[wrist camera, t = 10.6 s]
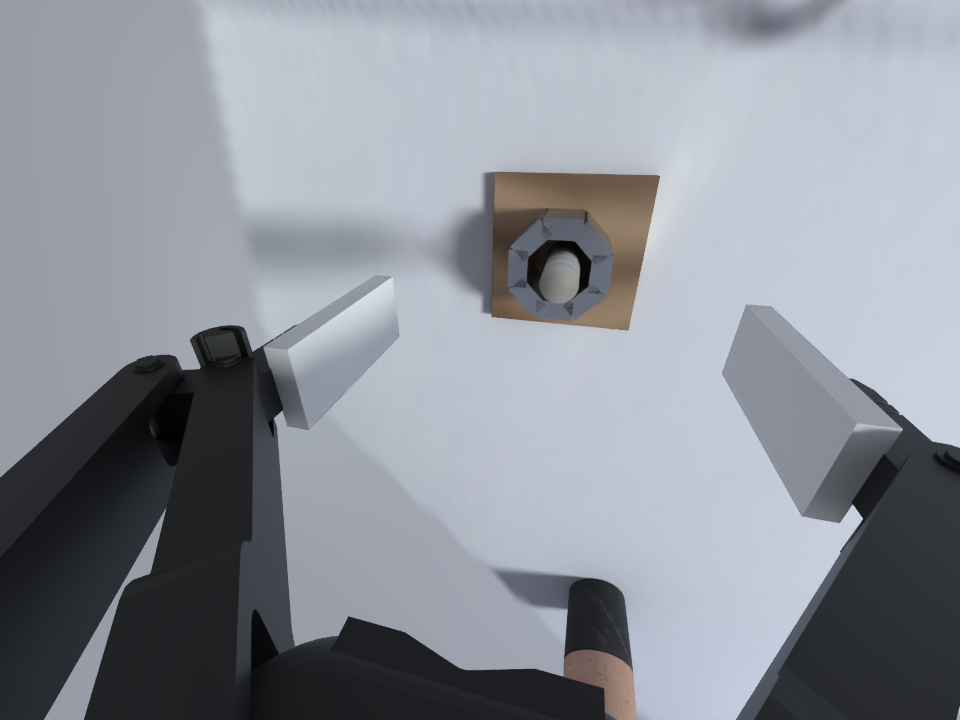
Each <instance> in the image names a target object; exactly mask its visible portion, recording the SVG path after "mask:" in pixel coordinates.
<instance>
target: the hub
mask: <svg viewBox="0 0 960 720" xmlns="http://www.w3.org/2000/svg"><path fill="white" fill-rule="evenodd" d="M547 240H564V241H575V242H576V243H577V244H578V245H579V246H580V248H581V249H582V250H583V251H584V252H585V254H586V255H587V256H588V257H589V258H590V259H589V266H588V269H587V270H586V271H584V272H583V273H582V274H580V276H579V288H578V291H577V293H576V295H575V296H574V297H573V298H572V299H571V300H570V301H568V302H565V303H560V304H558V303H552V302H550V301H548V300H547V299H545V298H544V297H543V295H542V294H541V291H540V287H539V283H540V278H541V276H542V273H541V272H540V271H539V270H538V268H537V267H536V266H535V265H534V262H535V251H536V250H537V249H538V248H539V247H540V246H541V245H542V244H544V243H545V242H546V241H547ZM510 247H511V248H510V249H509V257H508V281H507V287H510V288H509V291H510V292H511V293H512V294H513V295H514V296H515V298H516V299H517V300H518V301H519V302H520V303H521V304H522V305H523V306H524V307H525V309H526V310H527V311H528V312H529V313H530V314H531V315H532V316H533V315H534V314H535V313H536V315H535V318H545V319H555V320H566V321H572V317H573V318H574V320H576V319H577V318H579V317H580V316H581V315H583V314H584V313H585V312H587V311H588V310H590V309H591V308H592V307H594V306H595V305H597V304H598V303H599V302H601V301H602V300H603V299H605V298H606V296H605V294H606V295H608V290H609V285H610V279H611V273H612V267H613V261H614V253H613V249H612V245H611V241H610V238H609V236H608V235H607V234H606V233H605V231H604V230H603V229H602V228H601V226H600V225H599V224H598V223H597V221H596V220H595V219H594V218H593V217H592V215H591V214H590V213H589V212H588V211H587V212H586V213H585V209H562V208H549V210H548V211H547V210H545V211H544V212H543V213H542V214H541V215H540V216H538V217H537V218H536V219H535V220H534V221H533V222H532V223H531V224H530V225H529V226H528V227H527V228H526V229H525V230H523V231H522V232H521V233H520V235H519V236H518V237H517V238H516V240H515V241H514V242H513V244H512V245H511V246H510Z"/></svg>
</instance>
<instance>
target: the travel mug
mask: <svg viewBox="0 0 960 720" xmlns="http://www.w3.org/2000/svg"><path fill="white" fill-rule="evenodd" d="M563 677H566V678H569V679H573V680H577V681H580V682H584V683H587V684H591V685H594V686H598V687H601V688H604V692H605V712H606V713H607V714H609V715H610V716H612V717H614V718H615V719H617V720H637V716H636V703H635V691H634V678H633V668H632V659H631V650H630V641H629V633H628V624H627V615H626V607H625V600H624V596H623V594H622V592H621V591H620V590H619V589H618V588H617V587H615V586H614V585H612V584H610V583H608V582H605V581H602V580H597V579H584V580H580V581H577V582H576V583H574V584H573V585H572V586H571V588H570V591H569V601H568V614H567V628H566V641H565V655H564V675H563Z"/></svg>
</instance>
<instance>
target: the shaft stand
mask: <svg viewBox="0 0 960 720" xmlns="http://www.w3.org/2000/svg"><path fill="white" fill-rule="evenodd" d="M659 178H660V176H658V175H613V174H567V173H521V172H496V173H495V187H494V231H493V275H492V317H497V318H507V319H517V320H527V321H538V322H548V323H558V324H568V325H578V326H589V327H599V328H609V329H619V330H628V329H629V325H630V320H631V315H632V310H633V305H634V300H635V295H636V290H637V286H638V281H639V276H640V271H641V266H642V261H643V256H644V252H645V247H646V242H647V237H648V232H649V227H650V222H651V217H652V213H653V208H654V203H655V198H656V193H657V188H658V183H659ZM549 208H562V209H585V213H586V212H587V211H588V212H589V213H590V214H591V215H592V217H593V218H594V219H595V220H596V221H597V223H598V224H599V225H600V226H601V228H602V229H603V230H604V231H605V233H606V234H607V235H608V236H609V238H610V241H611V245H612V249H613V253H614V261H613V267H612V273H611V279H610V285H609V290H608V295H606V294H605V296H606V298H605V299H603V300H602V301H601V302H599V303H598V304H597V305H595V306H594V307H592V308H591V309H590V310H588V311H587V312H585V313H584V314H583V315H581V316H580V317H579V318H577V319H576V320H574V318H573V317H572V321H566V320H555V319H545V318H535V315H536V313H535V314H534V315H533V316H532V315H531V314H530V313H529V312H528V311H527V310H526V309H525V307H524V306H523V305H522V304H521V303H520V302H519V301H518V300H517V299H516V298H515V296H514V295H513V294H512V293H511V292H510V291H509V288H510V287H507V281H508V257H509V249H510V248H511V247H510V246H511V245H512V244H513V242H514V241H515V240H516V238H517V237H518V236H519V235H520V233H521V232H522V231H523V230H525V229H526V228H527V227H528V226H529V225H530V224H531V223H532V222H533V221H534V220H535V219H536V218H537V217H538V216H540V215H541V214H542V213H543V212H544V211H545V210H547V211H548V210H549ZM589 259H590V258H589V257H588V256H587V255H586V254H585V252H584V251H583V250H582V249H581V248H580V246H579V245H578V244H577V243H576V242H575V241H564V240H547V241H546V242H545V243H544V244H542V245H541V246H540V247H539V248H538V249H537V250H536V251H535V262H534V265H535V266H536V267H537V268H538V270H539V271H540V272H541V273H542V276H541V278H540V283H539V287H540V291H541V294H542V295H543V297H544V298H545V299H547V300H548V301H550V302H552V303H558V304H560V303H565V302H568V301H570V300H571V299H572V298H573V297H574V296H575V295H576V293H577V291H578V288H579V276H580V274H582V273H583V272H584V271H586V270H587V269H588V266H589Z"/></svg>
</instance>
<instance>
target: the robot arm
mask: <svg viewBox="0 0 960 720" xmlns="http://www.w3.org/2000/svg"><path fill="white" fill-rule="evenodd" d="M398 338H399V329H398V320H397V312H396V303H395V294H394V285H393V277H390V276H377V275H375V276H374V277H372V278H371V279H369V280H368V281H366V282H364V283H363V284H361V285H360V286H358V287H357V288H355V289H353V290H352V291H350V292H349V293H347V294H345V295H344V296H342V297H341V298H339V299H338V300H336V301H334V302H333V303H331V304H330V305H328V306H327V307H325V308H323V309H322V310H320V311H319V312H317V313H316V314H314V315H312V316H311V317H309V318H308V319H306V320H305V321H303V322H301V323H300V324H298V325H295V326H293V327H291V328H290V329H288V330H287V331H285V332H284V334H280V335H279V336H277V337H276V338H275V339H272V340H271V341H269V342H268V343H266V344H264V345H263V346H261V347H260V348H258V349H256V350H255V351H253V352H252V349H251V346H250V343H249V340H248V337H247V334H246V331H245V329H244V328H243V327H240V326H233V325H229V326H219V327H215V328H210V329H207V330H205V331H202V332H199V333H198V334H196V335H195V336H193V337H192V338H191V339H190V342H191V344H192V346H193V349H194V351H195V354H196V356H197V359H198V361H199V364H200V366H201V368H200V369H196V370H182V369H181V366H180V364H179V362H178V359H177V358H176V357H175V356H171V355H157V356H152V355H151V356H146V357H145V358H144V357H143V358H140V359H138V360H137V361H135V362H133V363H130V364H128V365H127V366H125V367H124V368H122V369H121V370H120V371H119V372H118V373H116V374H115V375H114V376H113V377H112V378H111V379H110V380H109V381H108V382H107V383H105V384H104V385H103V386H102V387H101V388H100V389H99V390H97V392H95V393H94V394H93V395H92V396H91V397H90V398H89V399H87V401H85V402H84V403H83V404H82V405H81V406H80V407H79V408H78V409H76V410H75V411H74V412H73V413H72V414H71V415H70V416H68V417H67V418H66V419H65V420H64V421H63V422H62V423H61V424H60V425H58V426H57V427H56V428H55V429H54V430H53V431H52V432H51V433H50V434H48V436H46V437H45V438H44V439H43V440H42V441H41V442H39V443H38V444H37V445H36V446H35V447H34V448H33V449H32V450H31V451H29V452H28V453H27V454H26V455H25V456H24V457H23V458H22V459H21V460H19V461H18V462H17V463H16V464H15V465H14V466H13V467H12V468H10V469H9V470H8V471H7V472H6V473H5V474H4V475H3V476H2V477H0V720H44V718H45V717H46V715H47V713H48V712H49V710H50V709H51V707H52V705H53V703H54V702H55V700H56V698H57V696H58V695H59V693H60V691H61V689H62V688H63V686H64V684H65V682H66V681H67V679H68V677H69V676H70V674H71V672H72V670H73V668H74V667H75V665H76V663H77V662H78V660H79V658H80V656H81V655H82V653H83V651H84V649H85V648H86V646H87V644H88V643H89V641H90V639H91V637H92V636H93V634H94V632H95V630H96V629H97V627H98V625H99V623H100V622H101V620H102V618H103V616H104V615H105V613H106V611H107V610H108V608H109V606H110V604H111V603H112V601H113V599H114V597H115V595H116V594H117V592H118V590H119V589H120V587H121V585H122V583H123V582H124V580H125V578H126V577H127V575H128V573H129V571H130V570H131V568H132V566H133V564H134V562H135V561H136V559H137V557H138V556H139V554H140V552H141V550H142V549H143V547H144V545H145V544H146V542H147V540H148V538H149V536H150V535H151V533H152V531H153V529H154V528H155V526H156V524H157V523H158V521H159V519H160V517H161V516H162V514H163V512H164V510H165V509H166V512H165V516H164V521H163V524H162V529H161V533H160V537H159V541H158V545H157V549H156V554H155V558H154V562H153V566H152V570H151V573H150V574H149V575H146V576H143V577H140V578H137V579H134V580H132V581H131V582H130V583H129V584H128V585H127V586H126V587H125V589H124V591H123V593H122V595H121V597H120V600H119V603H118V606H117V610H116V613H115V616H114V620H113V623H112V626H111V630H110V633H109V637H108V640H107V643H106V647H105V650H104V654H103V657H102V661H101V664H100V667H99V671H98V674H97V677H96V681H95V684H94V688H93V691H92V694H91V698H90V701H89V704H88V708H87V711H86V715H85V718H84V720H617V719H615V718H614V717H612V716H610V715H609V714H607V713H606V712H605V692H604V688H601V687H598V686H594V685H591V684H587V683H584V682H580V681H577V680H573V679H569V678H566V677H562V676H559V675H555V674H551V673H548V672H544V671H541V670H537V669H508V670H507V669H506V670H463V669H460V668H458V667H456V666H455V665H453V664H452V663H450V662H449V661H447V660H446V659H444V658H443V657H441V656H440V655H438V654H437V653H435V652H434V651H432V650H430V649H429V648H428V647H426V646H425V645H423V644H422V643H420V642H419V641H417V640H416V639H414V638H413V637H411V636H410V635H408V634H407V633H405V632H402V631H398V630H395V629H391V628H388V627H384V626H381V625H377V624H373V623H370V622H366V621H363V620H359V619H356V618H352V617H349V616H348V618H347V620H346V623H345V624H344V626H343V628H342V630H341V632H340V634H339V636H332V637H326V638H321V639H316V640H313V641H310V642H307V643H304V644H301V645H298V646H296V647H295V644H294V640H293V634H292V627H291V614H290V600H289V587H288V573H287V559H286V546H285V532H284V518H283V504H282V490H281V478H280V464H279V449H278V436H277V427H276V424H275V420H274V417H276V416H277V415H278V414H279V413H280V412H281V411H282V410H283V413H284V416H285V420H286V423H287V426H289V427H295V428H301V429H306V430H310V429H311V428H312V427H313V426H314V425H315V424H316V423H317V422H318V420H319V419H320V418H321V417H322V416H323V415H324V414H325V413H326V412H327V411H328V410H329V409H330V408H331V407H332V406H333V405H334V404H335V403H336V402H337V401H338V400H339V399H340V398H341V397H342V396H343V395H344V394H345V393H346V392H347V390H348V389H349V388H350V387H351V386H352V385H353V384H354V383H355V382H356V381H357V380H358V379H359V378H360V377H361V376H362V375H363V374H364V373H365V372H366V371H367V370H368V369H369V368H370V367H371V366H372V365H373V364H374V363H375V362H376V360H377V359H378V358H379V357H380V356H381V355H382V354H383V353H384V352H385V351H386V350H387V349H388V348H389V347H390V346H391V345H392V344H393V343H394V342H395V341H396V340H397V339H398ZM722 374H723V376H724V378H725V380H726V382H727V383H728V385H729V387H730V389H731V390H732V392H733V394H734V396H735V398H736V399H737V401H738V403H739V405H740V407H741V408H742V410H743V412H744V414H745V416H746V417H747V419H748V421H749V423H750V424H751V426H752V428H753V430H754V432H755V433H756V435H757V437H758V439H759V441H760V442H761V444H762V446H763V448H764V450H765V451H766V453H767V455H768V457H769V458H770V460H771V462H772V464H773V466H774V467H775V469H776V471H777V473H778V475H779V476H780V478H781V480H782V482H783V484H784V485H785V487H786V489H787V491H788V492H789V494H790V496H791V498H792V500H793V501H794V503H795V505H796V507H797V509H798V510H799V512H800V514H801V516H803V517H808V518H814V519H820V520H825V521H831V522H837V523H840V522H841V520H842V519H843V518H844V516H845V515H846V513H847V512H848V510H849V509H850V507H851V506H852V504H853V505H854V506H855V508H856V509H857V511H858V512H859V513H860V515H861V516H862V518H863V520H862V522H861V523H860V524H859V526H858V527H857V529H856V530H855V531H854V533H853V534H852V536H851V537H850V538H849V540H848V541H847V543H846V544H845V545H844V547H843V548H842V550H841V551H840V552H841V554H840V555H839V557H838V558H837V560H836V562H835V563H834V565H833V566H832V568H831V570H830V571H829V573H828V574H827V576H826V578H825V579H824V581H823V582H822V584H821V585H820V587H819V589H818V590H817V592H816V593H815V595H814V597H813V598H812V600H811V601H810V603H809V605H808V606H807V608H806V609H805V611H804V612H803V614H802V616H801V617H800V619H799V620H798V622H797V624H796V625H795V627H794V628H793V630H792V632H791V633H790V635H789V636H788V638H787V639H786V641H785V643H784V644H783V646H782V647H781V649H780V651H779V652H778V654H777V655H776V657H775V659H774V660H773V662H772V663H771V665H770V666H769V668H768V670H767V671H766V673H765V674H764V676H763V678H762V679H761V681H760V682H759V684H758V685H757V687H756V689H755V690H754V692H753V693H752V695H751V697H750V698H749V700H748V701H747V703H746V705H745V706H744V708H743V709H742V711H741V712H740V714H739V716H738V717H737V719H736V720H956V719H957V715H958V711H959V707H960V448H958V447H955V446H952V445H948V444H943V443H937V442H932V441H931V440H930V439H929V438H927V437H926V436H925V435H924V434H923V433H922V432H921V431H920V430H918V429H917V428H916V427H915V426H914V425H913V424H912V423H911V422H909V421H908V420H907V419H906V418H905V417H904V416H903V415H899V412H898V411H897V410H896V409H895V408H894V407H893V406H891V405H888V402H887V401H886V400H885V399H884V398H882V397H881V396H880V395H879V394H878V393H877V392H876V391H875V390H873V389H871V388H869V387H867V386H866V385H864V384H862V383H860V382H858V381H856V380H855V379H849V378H848V377H846V376H845V375H844V374H843V373H842V372H841V371H840V370H839V369H838V368H837V367H836V366H835V365H834V364H832V363H831V362H830V361H829V360H828V359H827V358H826V357H825V356H824V355H823V354H822V353H821V352H820V351H818V350H817V349H816V348H815V347H814V346H813V345H812V344H811V343H810V342H809V341H808V340H807V339H806V338H805V337H803V336H802V335H801V334H800V333H799V332H798V331H797V330H796V329H795V328H794V327H793V326H792V325H791V324H789V323H788V322H787V321H786V320H785V319H784V318H783V317H782V316H781V315H780V314H779V313H778V312H777V311H776V310H774V309H773V308H772V307H770V306H757V305H746V307H745V310H744V312H743V315H742V318H741V321H740V324H739V326H738V329H737V332H736V335H735V338H734V341H733V343H732V346H731V349H730V352H729V355H728V358H727V360H726V363H725V366H724V369H723V372H722ZM166 507H167V508H166Z"/></svg>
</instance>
